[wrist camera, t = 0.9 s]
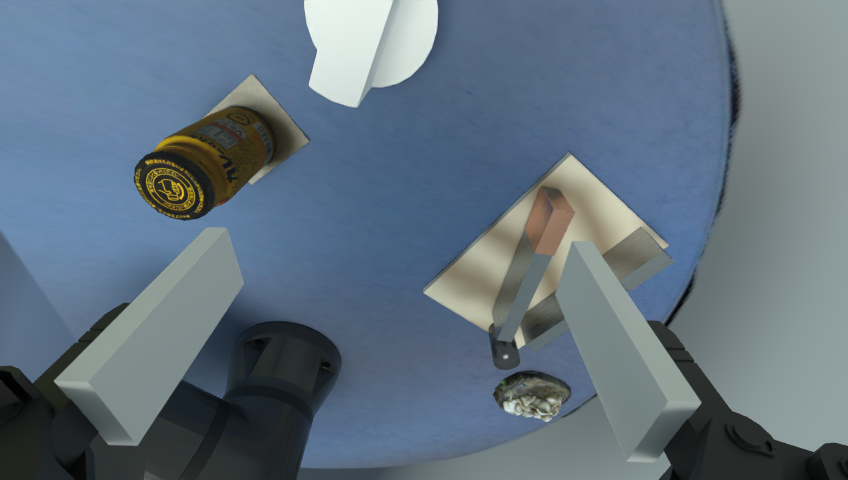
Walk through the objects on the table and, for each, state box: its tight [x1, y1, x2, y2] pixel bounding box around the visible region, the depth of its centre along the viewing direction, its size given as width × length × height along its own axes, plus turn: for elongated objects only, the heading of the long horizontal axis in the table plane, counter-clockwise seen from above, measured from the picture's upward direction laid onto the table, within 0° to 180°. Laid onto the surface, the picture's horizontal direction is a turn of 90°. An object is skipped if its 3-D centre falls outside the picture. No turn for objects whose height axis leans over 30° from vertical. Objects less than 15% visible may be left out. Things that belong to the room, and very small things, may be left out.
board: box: [423, 152, 669, 349], centre depth 43 cm, size 23×17×1 cm
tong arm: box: [492, 187, 575, 342], centre depth 39 cm, size 18×2×5 cm, turn 170°
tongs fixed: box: [488, 227, 675, 370], centre depth 42 cm, size 23×4×5 cm, turn 142°
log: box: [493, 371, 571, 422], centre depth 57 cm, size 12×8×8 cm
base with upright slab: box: [304, 0, 438, 107], centre depth 24 cm, size 9×9×12 cm
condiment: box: [134, 74, 309, 221], centre depth 30 cm, size 7×8×12 cm
